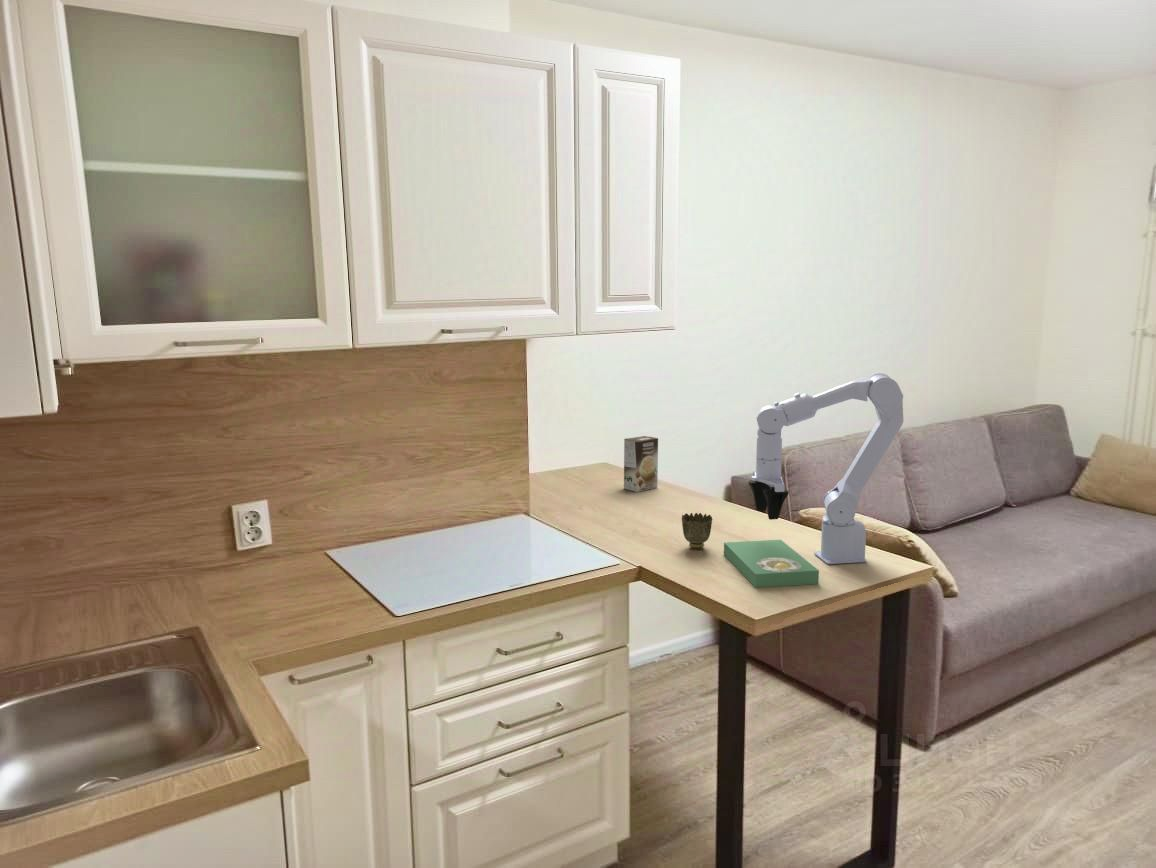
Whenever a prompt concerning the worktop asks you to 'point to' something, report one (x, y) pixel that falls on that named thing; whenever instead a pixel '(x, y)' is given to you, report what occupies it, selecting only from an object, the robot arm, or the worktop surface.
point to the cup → (696, 529)
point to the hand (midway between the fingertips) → (767, 514)
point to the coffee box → (640, 463)
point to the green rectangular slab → (770, 563)
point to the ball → (781, 566)
